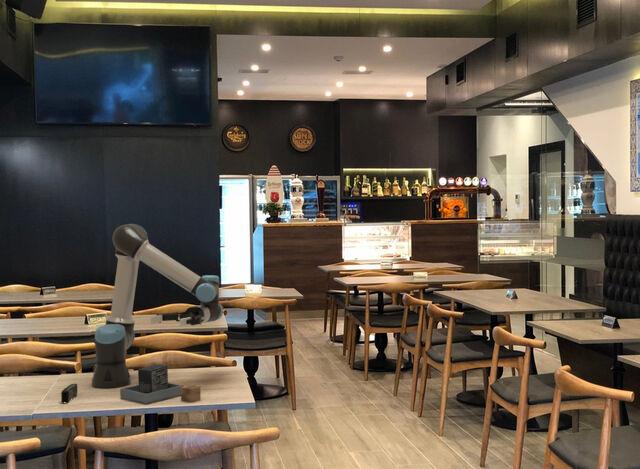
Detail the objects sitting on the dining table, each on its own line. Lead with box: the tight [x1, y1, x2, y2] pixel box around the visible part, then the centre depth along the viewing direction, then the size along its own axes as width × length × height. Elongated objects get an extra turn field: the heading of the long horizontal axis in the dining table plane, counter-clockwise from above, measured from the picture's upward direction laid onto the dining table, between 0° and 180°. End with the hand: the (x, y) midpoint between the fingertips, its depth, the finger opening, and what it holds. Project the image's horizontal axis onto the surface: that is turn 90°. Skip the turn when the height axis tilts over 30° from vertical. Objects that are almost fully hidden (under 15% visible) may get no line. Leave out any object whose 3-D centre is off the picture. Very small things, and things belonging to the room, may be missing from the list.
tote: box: [119, 382, 184, 405], centre depth 285 cm, size 15×17×4 cm
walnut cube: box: [180, 384, 202, 403], centre depth 279 cm, size 5×5×5 cm
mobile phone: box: [60, 383, 78, 403], centre depth 285 cm, size 5×3×15 cm
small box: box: [137, 363, 169, 394], centre depth 286 cm, size 11×6×10 cm, turn 156°
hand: (165, 321), depth 294 cm, fingers open, 13 cm apart
